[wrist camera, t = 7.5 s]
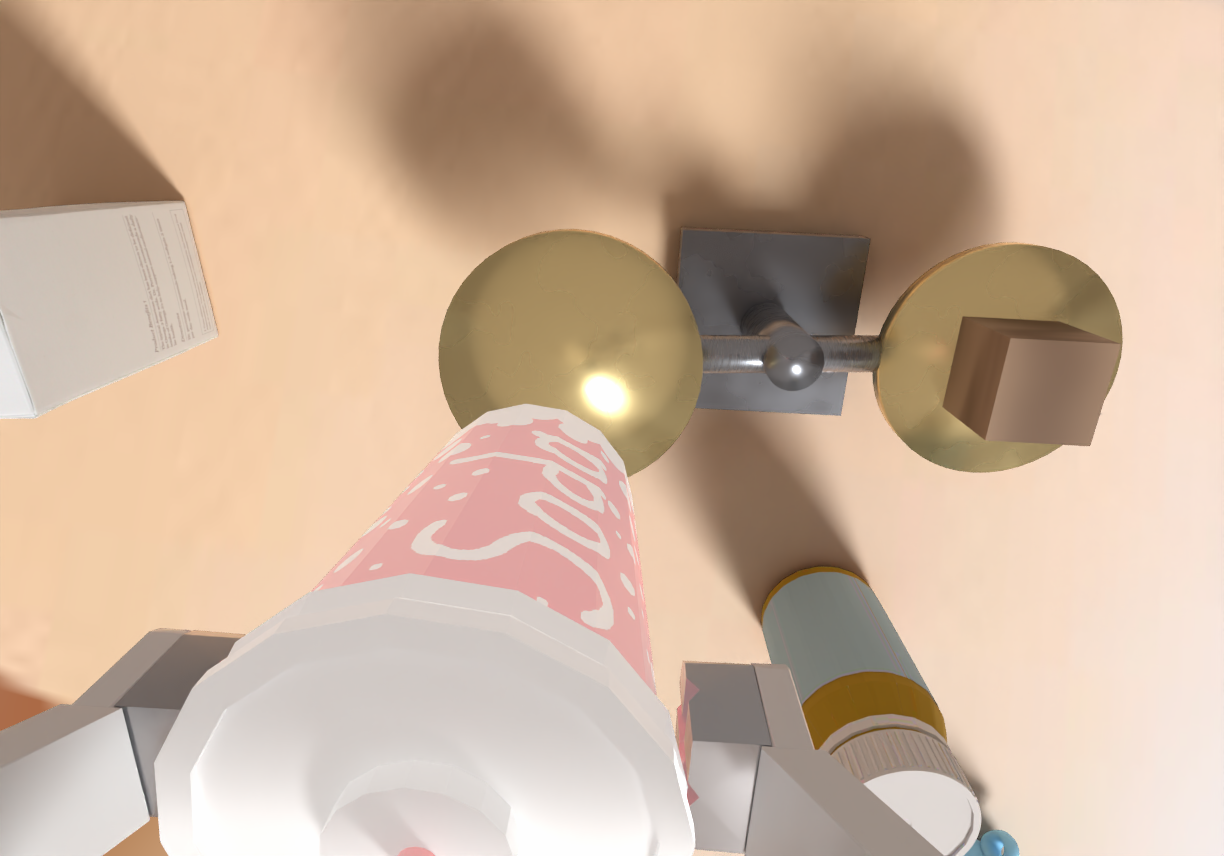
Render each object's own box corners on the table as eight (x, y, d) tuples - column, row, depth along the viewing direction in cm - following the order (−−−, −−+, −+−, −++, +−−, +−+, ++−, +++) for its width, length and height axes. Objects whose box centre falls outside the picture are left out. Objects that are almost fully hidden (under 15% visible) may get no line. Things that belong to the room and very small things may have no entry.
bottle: (787, 546, 41) (865, 741, 27) (895, 580, 42) (1026, 789, 28) (741, 638, 44) (791, 862, 30) (844, 670, 44) (941, 904, 30)
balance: (1055, 234, 35) (1231, 263, 24) (1006, 424, 38) (1143, 519, 28) (492, 207, 35) (432, 224, 25) (494, 397, 39) (443, 481, 28)
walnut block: (1058, 321, 29) (1121, 343, 26) (1034, 411, 31) (1090, 446, 27) (962, 316, 29) (1010, 338, 26) (942, 407, 31) (985, 440, 27)
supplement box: (48, 204, 36) (-242, 223, 24) (189, 198, 36) (-33, 215, 24) (91, 346, 38) (-152, 426, 27) (223, 341, 38) (37, 421, 26)
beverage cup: (720, 494, 16) (1081, 1898, 3) (544, 651, 18) (288, 1994, 5) (518, 312, 15) (-375, 1386, 2) (350, 499, 17) (-757, 1773, 3)
